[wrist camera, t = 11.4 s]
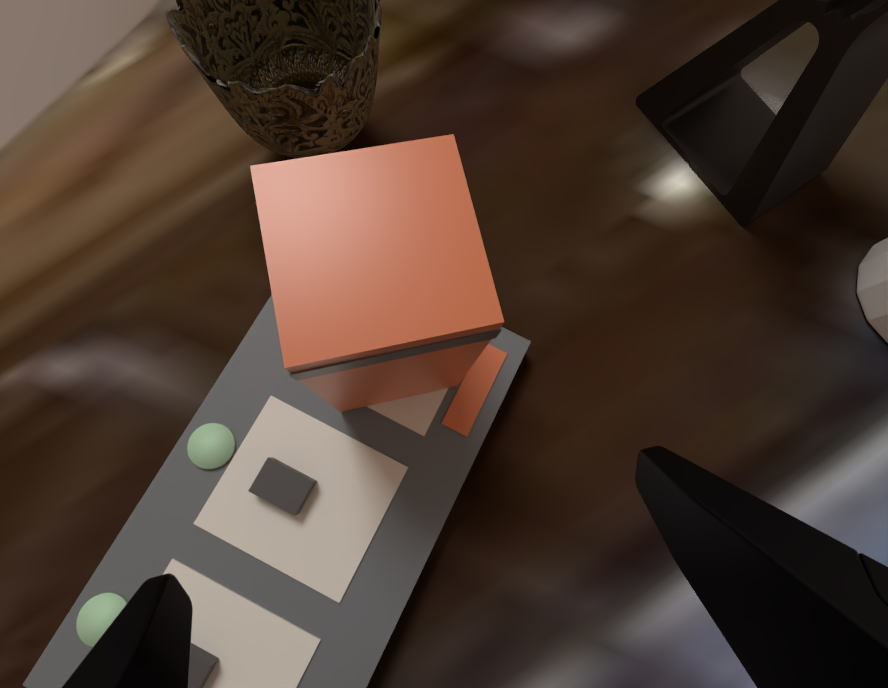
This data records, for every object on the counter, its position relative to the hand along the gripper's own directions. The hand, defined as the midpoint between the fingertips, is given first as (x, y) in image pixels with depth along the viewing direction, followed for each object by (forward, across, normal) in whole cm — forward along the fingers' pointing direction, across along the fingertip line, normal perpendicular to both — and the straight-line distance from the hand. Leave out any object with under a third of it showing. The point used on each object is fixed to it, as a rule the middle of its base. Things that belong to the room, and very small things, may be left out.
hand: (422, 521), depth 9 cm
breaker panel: (+10, +4, +8) cm, 13 cm away
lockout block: (+12, 0, +3) cm, 13 cm away
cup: (+22, +1, -4) cm, 22 cm away
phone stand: (+19, -21, -1) cm, 28 cm away
